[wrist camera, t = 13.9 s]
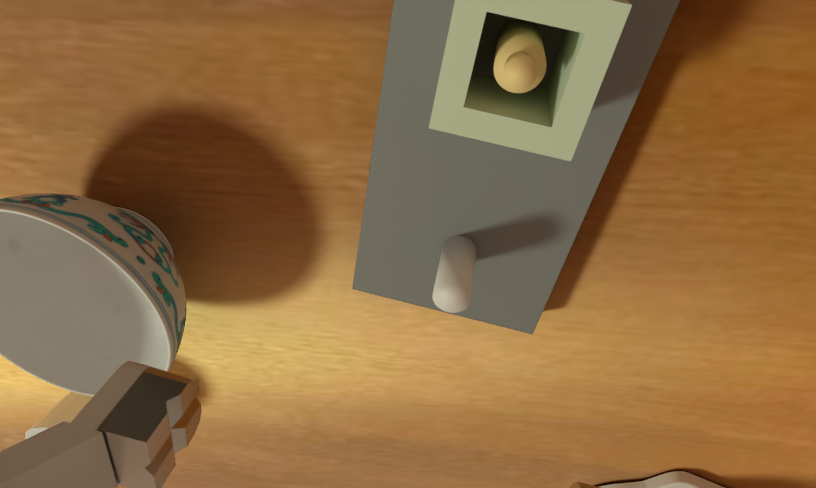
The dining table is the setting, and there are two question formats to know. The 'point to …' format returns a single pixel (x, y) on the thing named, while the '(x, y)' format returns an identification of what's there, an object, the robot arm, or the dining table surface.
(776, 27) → the dining table surface
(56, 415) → the shot glass
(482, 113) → the collar block
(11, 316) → the chinaware
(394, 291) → the stand board
